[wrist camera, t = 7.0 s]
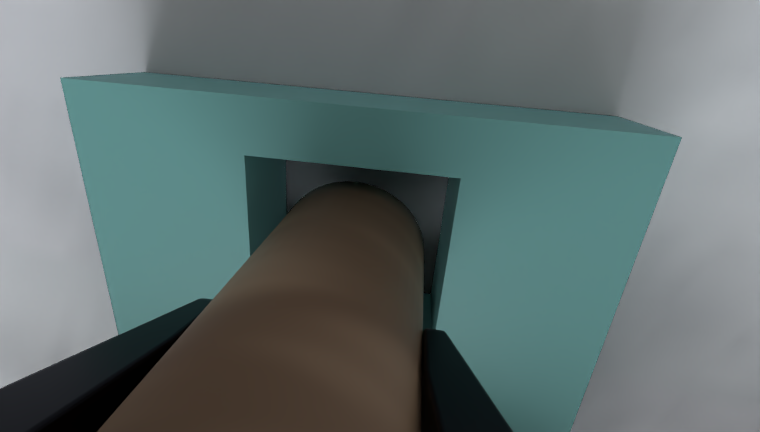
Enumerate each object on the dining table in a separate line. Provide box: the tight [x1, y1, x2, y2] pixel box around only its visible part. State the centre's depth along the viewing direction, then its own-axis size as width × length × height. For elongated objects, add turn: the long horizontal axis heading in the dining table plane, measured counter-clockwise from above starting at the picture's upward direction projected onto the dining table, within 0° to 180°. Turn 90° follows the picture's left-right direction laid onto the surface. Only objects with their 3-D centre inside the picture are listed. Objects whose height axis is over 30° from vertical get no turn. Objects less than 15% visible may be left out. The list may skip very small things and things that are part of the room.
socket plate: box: [60, 72, 682, 432], centre depth 11 cm, size 14×17×8 cm
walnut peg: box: [97, 181, 424, 432], centre depth 6 cm, size 4×4×10 cm
